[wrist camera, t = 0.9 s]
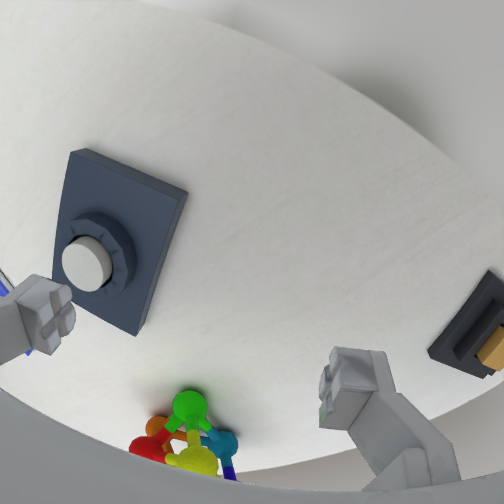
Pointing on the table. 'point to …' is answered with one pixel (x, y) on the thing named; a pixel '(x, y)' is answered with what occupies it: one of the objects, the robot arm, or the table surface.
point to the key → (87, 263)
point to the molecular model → (188, 439)
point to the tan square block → (493, 350)
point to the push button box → (117, 233)
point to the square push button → (472, 328)
